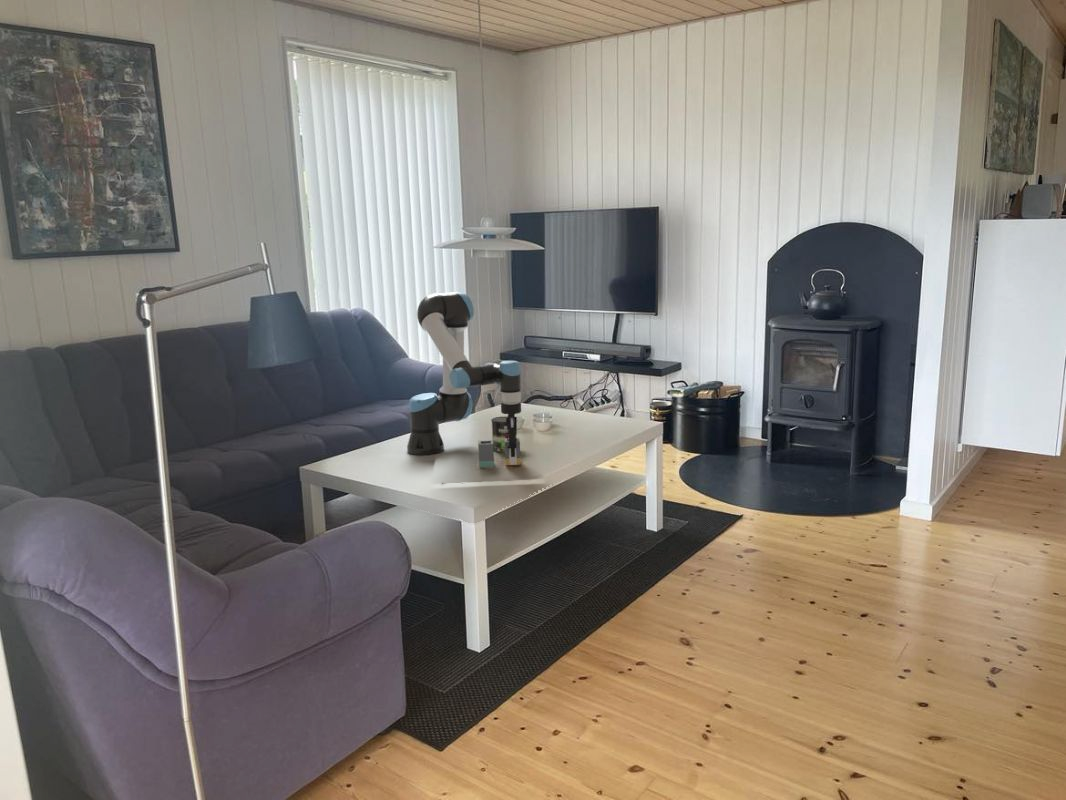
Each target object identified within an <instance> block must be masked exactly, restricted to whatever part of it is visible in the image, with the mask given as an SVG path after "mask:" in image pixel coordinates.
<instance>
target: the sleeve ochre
mask: <svg viewBox="0 0 1066 800" xmlns="http://www.w3.org/2000/svg"><path fill="white" fill-rule="evenodd" d="M516 446H517V447H516V454H517V465H521V462H520V461H521V441H520V437H517V438H516ZM507 447H509V438H505V452H504V461H505V464H506V465H510V463H509V449H508V448H507Z"/></svg>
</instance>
